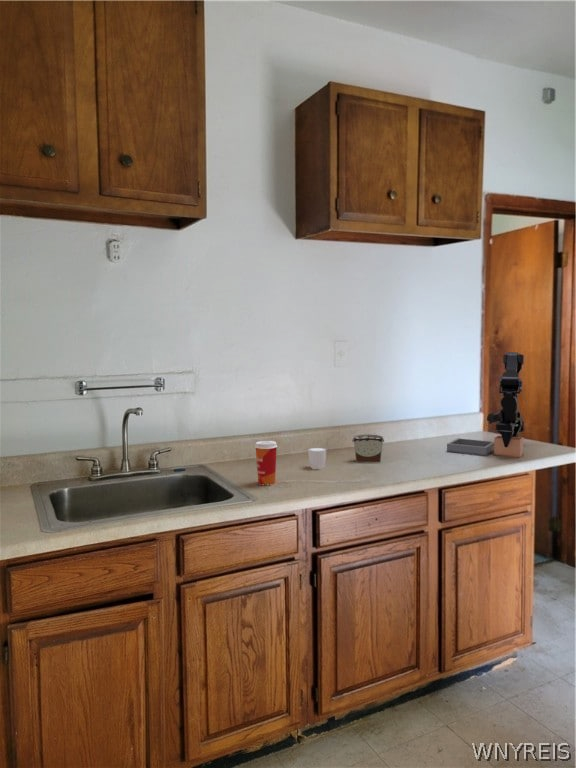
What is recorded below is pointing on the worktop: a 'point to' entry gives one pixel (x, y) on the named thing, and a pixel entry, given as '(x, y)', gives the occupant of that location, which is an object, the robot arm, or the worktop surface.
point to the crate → (470, 447)
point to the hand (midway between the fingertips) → (508, 445)
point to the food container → (368, 448)
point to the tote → (509, 447)
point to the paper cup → (266, 461)
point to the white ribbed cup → (317, 457)
